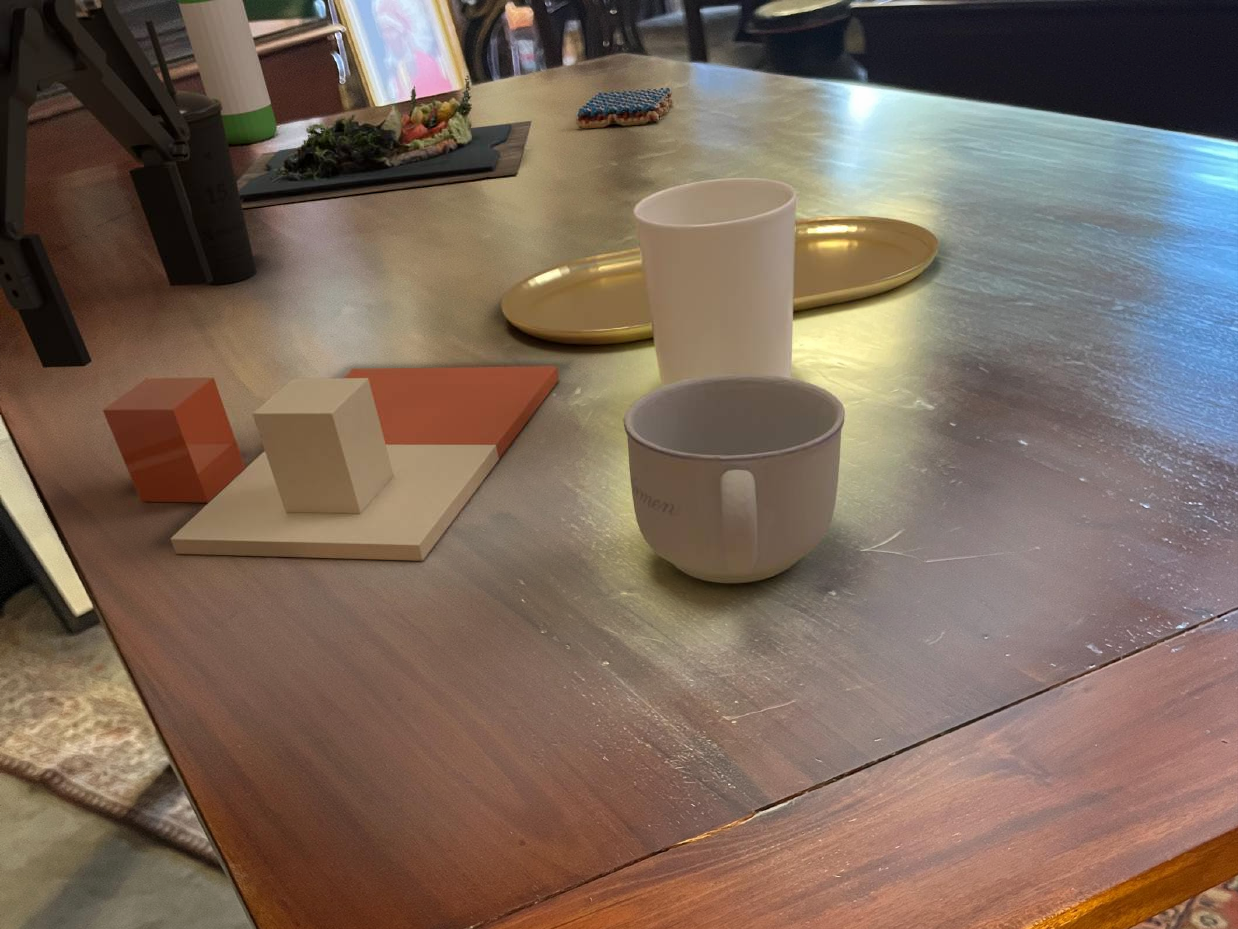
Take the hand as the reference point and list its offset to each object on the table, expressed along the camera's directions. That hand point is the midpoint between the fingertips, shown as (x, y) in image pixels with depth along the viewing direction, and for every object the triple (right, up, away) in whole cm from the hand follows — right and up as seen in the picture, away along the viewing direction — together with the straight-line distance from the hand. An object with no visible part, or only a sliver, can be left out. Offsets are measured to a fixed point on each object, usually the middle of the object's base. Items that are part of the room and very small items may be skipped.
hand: (134, 322), depth 72 cm
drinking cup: (-9, +24, +42) cm, 49 cm away
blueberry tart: (+27, +59, +75) cm, 100 cm away
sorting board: (+13, -6, +7) cm, 16 cm away
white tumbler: (+36, -2, +8) cm, 37 cm away
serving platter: (+36, +14, +25) cm, 46 cm away
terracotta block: (+1, -7, +7) cm, 10 cm away
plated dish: (-1, +51, +70) cm, 87 cm away
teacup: (+35, -17, -8) cm, 40 cm away
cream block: (+12, -10, +1) cm, 16 cm away
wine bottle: (-23, +65, +90) cm, 113 cm away
